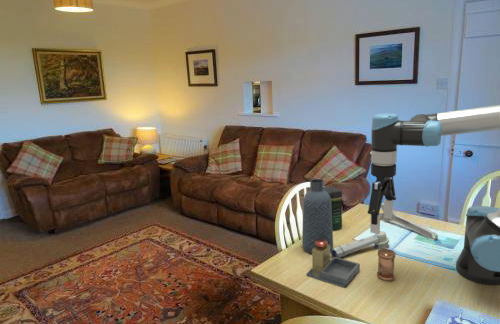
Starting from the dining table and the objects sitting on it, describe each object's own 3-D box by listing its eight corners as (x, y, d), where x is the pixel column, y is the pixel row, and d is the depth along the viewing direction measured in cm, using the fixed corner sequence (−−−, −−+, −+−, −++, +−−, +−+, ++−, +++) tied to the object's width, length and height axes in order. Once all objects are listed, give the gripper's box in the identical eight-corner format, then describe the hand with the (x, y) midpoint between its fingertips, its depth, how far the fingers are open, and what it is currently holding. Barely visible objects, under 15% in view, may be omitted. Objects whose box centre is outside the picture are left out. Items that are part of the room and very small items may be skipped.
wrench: (433, 247, 148) (374, 217, 172) (436, 245, 149) (377, 216, 173) (437, 229, 145) (376, 201, 169) (439, 228, 146) (379, 200, 170)
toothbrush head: (329, 246, 139) (382, 226, 146) (331, 261, 141) (383, 240, 148) (336, 252, 134) (391, 230, 142) (338, 267, 136) (392, 245, 144)
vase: (339, 251, 143) (339, 182, 136) (312, 258, 139) (311, 187, 132) (322, 238, 154) (321, 174, 147) (297, 245, 150) (295, 179, 143)
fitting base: (360, 270, 128) (360, 242, 126) (345, 288, 118) (345, 258, 116) (323, 259, 137) (322, 233, 134) (306, 275, 127) (306, 247, 124)
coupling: (396, 275, 124) (397, 251, 122) (391, 283, 120) (392, 258, 118) (380, 270, 127) (380, 247, 125) (374, 278, 123) (375, 254, 121)
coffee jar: (345, 228, 162) (345, 189, 158) (329, 232, 160) (329, 192, 156) (333, 221, 171) (333, 183, 167) (318, 224, 169) (318, 186, 164)
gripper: (383, 154, 127) (382, 211, 132) (357, 171, 108) (356, 237, 113) (406, 155, 122) (404, 214, 127) (383, 174, 103) (381, 242, 108)
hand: (381, 225), depth 120 cm, fingers open, 13 cm apart
